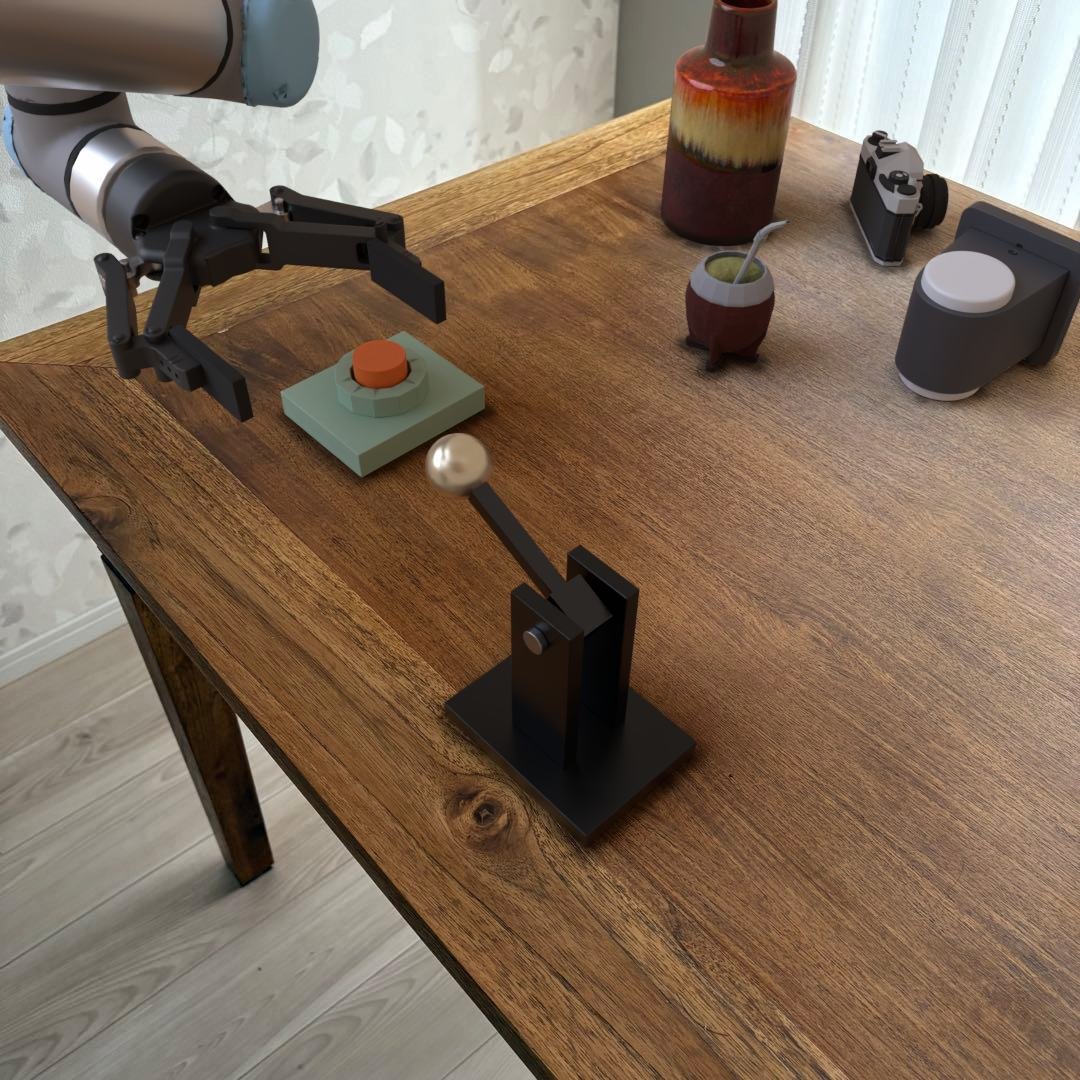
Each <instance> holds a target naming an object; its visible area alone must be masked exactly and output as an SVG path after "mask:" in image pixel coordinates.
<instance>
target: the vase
mask: <svg viewBox="0 0 1080 1080" xmlns="http://www.w3.org/2000/svg"><path fill="white" fill-rule="evenodd" d="M778 4H779V1H778V0H712V4H711V9H710V13H709V14H710V16H709V20H708V25H707V30H706V34H705V35H706V36H705V41H704V43H703V44H700V45H697V46H695V47H692V48H690V49H687V50H686V51H685V52H684V53H682V55H680V57H679V58H678V59H677V61H676V63H675V67H674V73H673V81H672V82H673V83H672V91H671V102H670V112H669V121H668V131H667V143H666V150H665V151H666V152H665V163H664V171H663V172H664V173H663V181H662V193H661V203H660V216H661V217H660V218H661V220H662V222H663V223H664V225H665V226H666V227H667V228H668V229H669V230H670V231H671V232H673V233H675V234H676V235H678V236H680V237H682V238H684V239H686V240H690V241H691V242H696V243H700V244H706V245H711V246H712V245H715V246H731V245H741V244H746V243H749V242H752V241H754V238H755V236H756V234H757V233H758V231H759V230H760V229H763V228H764V227H766V226H767V225H769V224H771V223H773V217H774V211H775V207H776V201H777V200H776V199H777V195H778V190H779V184H780V179H781V174H782V173H781V172H782V167H783V161H784V156H785V150H786V146H787V145H786V144H787V139H788V134H789V129H790V128H789V127H790V121H791V116H792V110H793V106H794V105H793V104H794V99H795V94H796V93H795V92H796V86H797V80H798V71H797V69H796V66H795V65H794V63H793V62H792V60H791V59H789V58H788V57H787V56H786V55H785V54H782V53H781V52H779V51H777V50H775V40H776V31H777V30H776V29H777V19H778V18H777V17H778V6H779V5H778Z"/></svg>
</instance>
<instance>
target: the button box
mask: <svg viewBox="0 0 1080 1080" xmlns="http://www.w3.org/2000/svg"><path fill="white" fill-rule="evenodd" d="M385 340H389V341H393V342H396V343H398V344H399V345H401V346H402V347H403V348H404V350H405V352H406V361H407V376H406V378H405V380H404V381H403V382H401V383H399V384H398V385H396V386H394V387H391V388H384V389H372V388H367V387H363V386H361V385H360V384H359V383H358V382H357V381H356V379H355V376H354V369H353V362H352V355H353V352H354V351H355V349H352V350H351V351H349V352H346V353H345V354H343V356H342V357H341V358H340V359H339V361H338V362H337V363H336V364H334V365H331V366H330V367H327V368H325V369H324V370H322V371H321V370H320V371H319V372H317V373H315V374H313V375H311V376H310V377H308V378H305V379H303V380H301V381H299V382H297V383H295V384H293V385H291V386H289V387H287V388H285V389H283V390H281V391H280V398H281V403H282V407H283V412H284V415H285V416H286V417H288V418H289V419H290V420H291V421H293V422H294V423H295V424H296V425H298V427H300V428H301V429H302V430H303V431H304V432H306V433H307V434H308V435H309V436H311V437H312V438H313V439H314V440H316V442H318V443H319V444H320V445H321V446H322V447H324V448H325V449H326V450H328V452H329V453H331V454H332V455H334V457H336V458H337V459H338V460H339V461H341V462H342V463H343V464H344V465H346V466H347V467H348V468H349V469H350V470H351V471H353V472H354V473H355V474H357V476H359V477H360V478H364V477H366V476H367V475H370V474H371V473H373V472H374V471H376V470H378V469H380V468H382V467H383V466H385V465H387V464H389V463H391V462H393V461H394V460H396V459H398V458H399V457H401V456H403V455H405V454H406V453H409V452H411V451H412V450H413V449H416V448H417V447H419V446H421V445H422V444H423V445H424V443H426V442H428V441H429V440H432V439H433V438H435V437H437V436H438V435H440V434H442V433H444V432H445V431H448V430H449V429H451V428H453V427H455V426H456V425H458V424H460V423H462V422H463V421H465V420H467V419H468V418H470V417H473V416H474V415H476V414H477V413H479V412H481V411H483V410H485V409H486V398H485V397H486V396H485V395H486V394H485V391H486V390H485V386H484V384H481V382H479V381H478V380H476V379H475V378H473V377H472V376H470V375H469V374H467V373H466V372H464V371H463V370H462V369H461V368H458V366H456V365H454V364H453V363H452V362H451V361H448V360H447V358H444V357H443V356H442V355H440V354H439V353H438V352H436V351H434V350H433V349H432V348H430V347H429V346H427V344H424V343H423V342H421V341H420V340H419V339H418V338H416V337H414V336H413V335H411V334H410V333H408V332H407V331H406V330H402V331H400V332H398V333H396V334H395V335H392V336H390V337H388V338H386V339H385Z"/></svg>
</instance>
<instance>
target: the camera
mask: <svg viewBox="0 0 1080 1080" xmlns="http://www.w3.org/2000/svg"><path fill="white" fill-rule="evenodd" d="M871 133H872V134H868V135H866V136H865V137H864V139H862V145H861V148H860V152H859V157H858V162H857V167H856V172H855V176H854V181H853V185H852V190H851V195H850V197H849V206H850V209H851V211H852V214H853V216H854V218H855V220H856V223H857V225H858V227H859V229H860V233H861V234H862V237H863V239H864V241H865V243H866V246H867V248H868V250H869V252H870V255H871V257H872V259H873V261H874V262H875V263H877V264H879V265H881V266H882V267H889V266H891V267H892V266H893V267H894V266H895V267H896V266H897V267H898V266H899V267H900V266H901V264H902V263H903V261H904V259H905V255H906V250H907V247H908V242H909V239H910V235H911V232H916V231H917V230H919V229H921V230H934V228H936V227H938V226H940V225H942V223H943V222H944V220H945V218H946V215H947V212H948V208H949V207H948V206H949V199H950V197H949V184H948V182H947V180H946V178H944V176H943V177H941V176H940V175H939V174H938V173H926V174H925V175H924V171H925V170H924V169H925V163H924V160H923V159H922V157H921V155H920V154H919V152H918V150H917V148H916V147H915V146H913V145H912V144H910V143H909V142H907V141H903V142H898V140H897V139H891V138H890V137H888V136H889V134H888V132H887V131H884V130H881V129H878V130H877V129H876V130H875V131H872V132H871Z"/></svg>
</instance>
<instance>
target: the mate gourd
mask: <svg viewBox="0 0 1080 1080" xmlns="http://www.w3.org/2000/svg"><path fill="white" fill-rule="evenodd" d="M791 223H792V220H790V219H788V220H782V221H777V222H776V221H775V222H771V224H769V225H767V226H766V227H764V228H763V229H760V230H759V231H758V233H757V234H756V236H755V238H754V240H753V243H752V245H751V247H750V249H749V251H748V252H744V251H740V250H722V251H717V252H713V253H711V254H709V255H708V256H706V257H704V258H703V259H702V260H701V261H700V262H699V263H698V264H697V266H696V267H695V268H694V270H693V271H692V273H691V274H690V278H689V280H688V283H687V285H686V288H685V293H684V294H685V295H684V303H685V317H686V325H687V329H688V335H687V336H686V337H685V345H687V346H690V347H693V348H697V349H700V350H704V351H706V352H707V351H708V352H709V359H708V361H707V362H706V365H705V371H707V372H709V373H715V372H716V371H717V369H718V367H719V366H720V364H721V362H722V360H723V359H724V358H725V357H729V358H733V359H737V360H741V361H744V362H749V363H752V364H756V363H758V360H759V357H760V354H759V353H758V351H759V348H760V347H761V345H762V343H763V341H764V339H765V337H766V335H767V333H768V329H769V327H770V322H771V320H772V316H773V312H774V308H775V302H776V296H775V295H776V294H775V281H774V277H773V274H772V272H771V271H770V269H769V268H768V266H767V265H766V264H765V262H763V260H762V259H760V258H759V257H757V254H758V252H759V250H760V248H761V247H762V246H763V244H764V243H765V242H766V241H767V239H768V237H769V234H770V233H772V232H773V231H776V230H778V229H780V228H783V227H785V226H787V225H789V224H791Z"/></svg>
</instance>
